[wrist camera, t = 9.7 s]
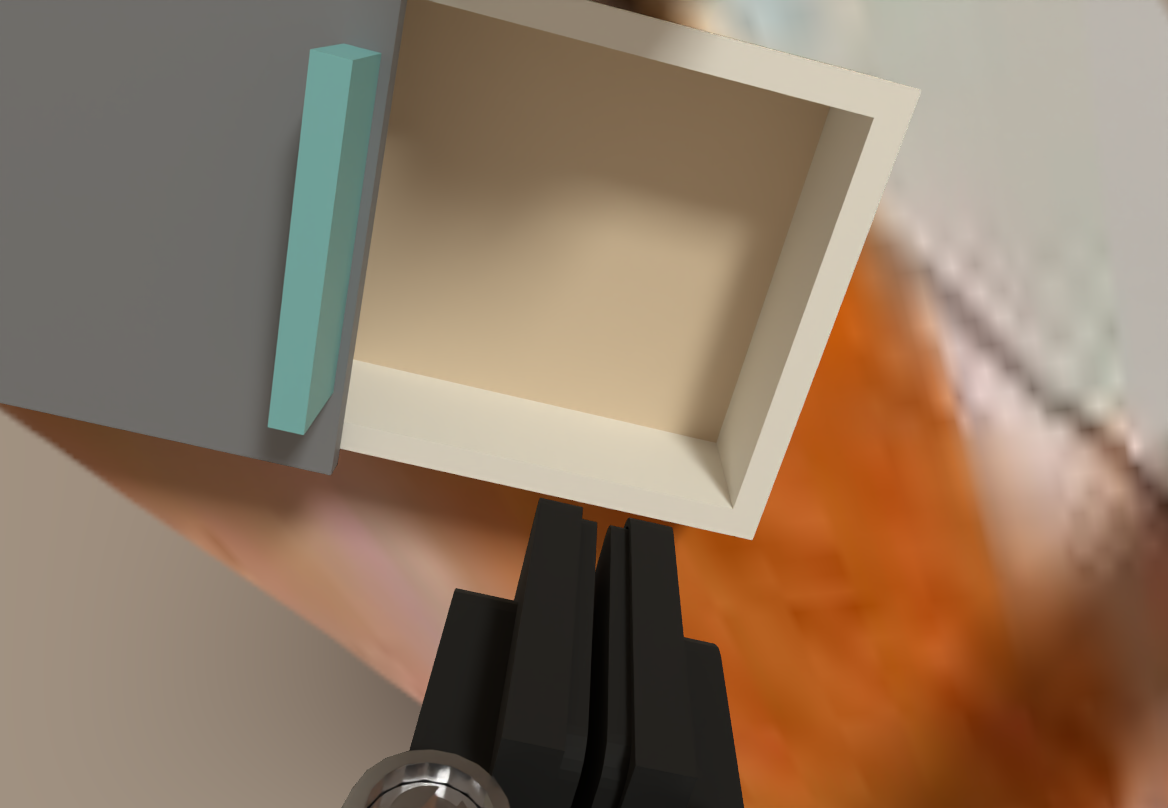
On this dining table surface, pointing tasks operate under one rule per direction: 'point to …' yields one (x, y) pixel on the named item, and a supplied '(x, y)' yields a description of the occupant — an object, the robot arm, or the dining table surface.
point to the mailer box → (610, 253)
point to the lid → (191, 213)
